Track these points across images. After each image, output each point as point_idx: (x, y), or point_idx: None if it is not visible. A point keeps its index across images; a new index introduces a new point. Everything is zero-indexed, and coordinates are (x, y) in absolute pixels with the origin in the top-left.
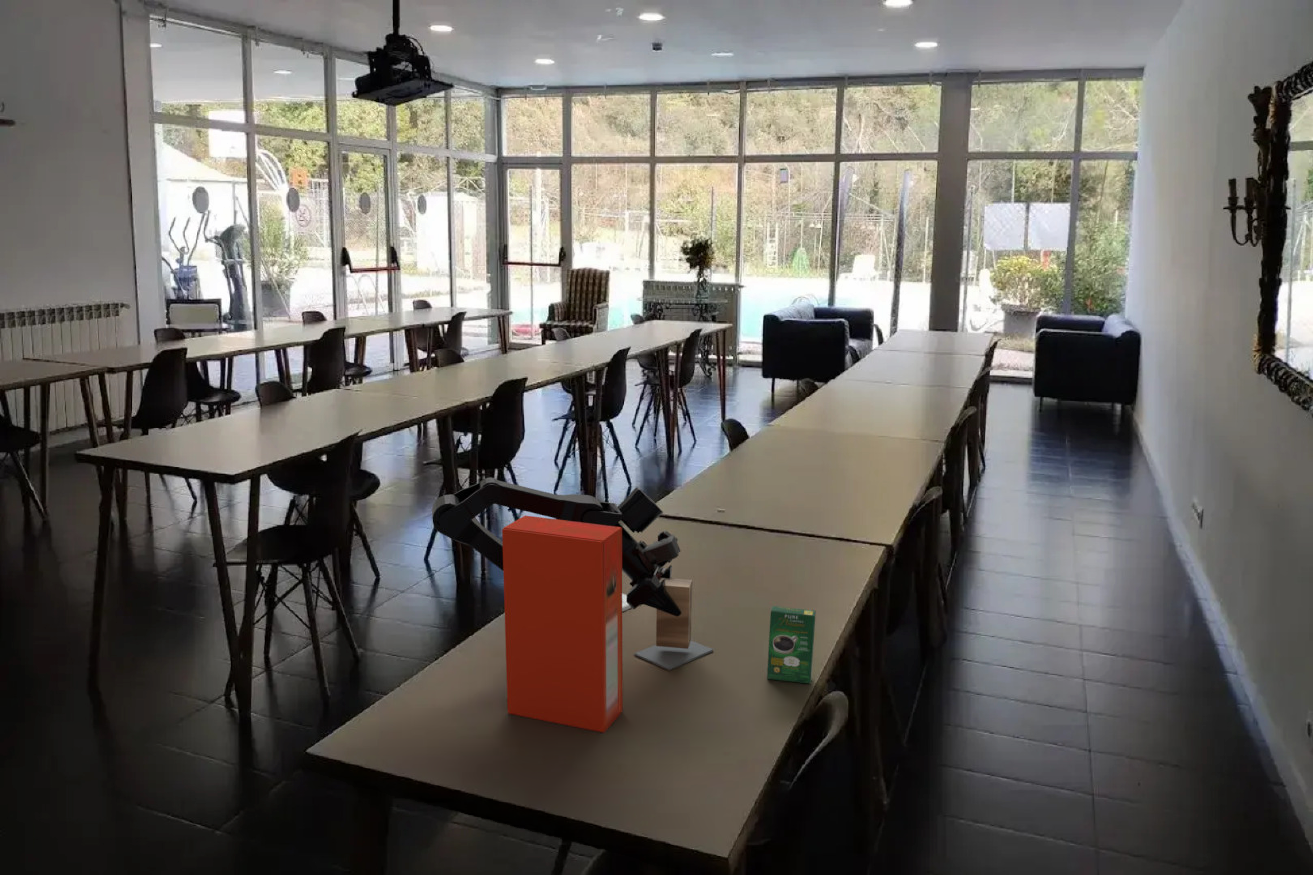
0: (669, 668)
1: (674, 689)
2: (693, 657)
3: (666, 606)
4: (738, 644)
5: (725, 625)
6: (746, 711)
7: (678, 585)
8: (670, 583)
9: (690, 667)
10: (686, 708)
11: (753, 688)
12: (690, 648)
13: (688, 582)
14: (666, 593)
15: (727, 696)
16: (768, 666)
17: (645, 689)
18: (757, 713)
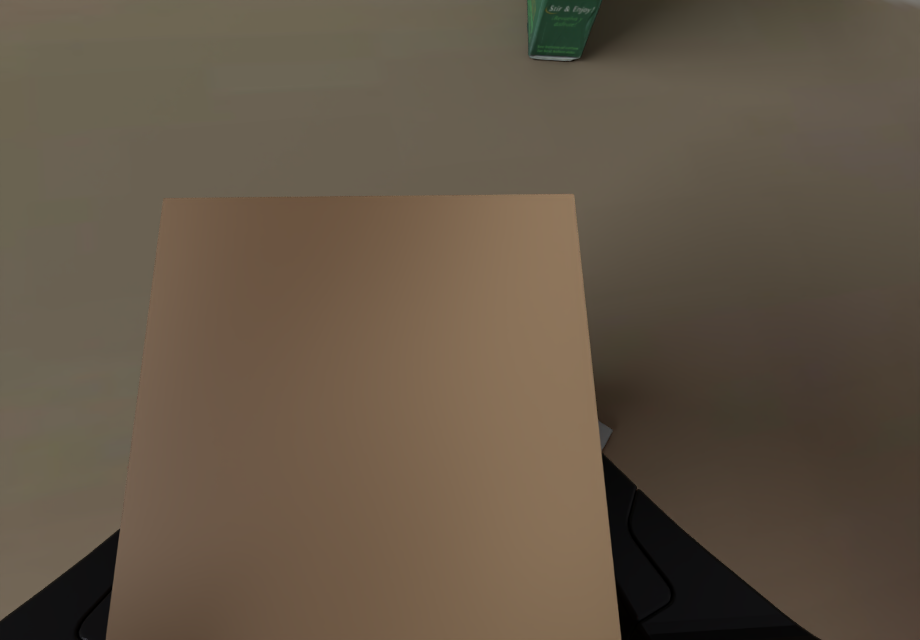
0: (608, 427)
1: (769, 370)
2: None
3: None
4: (273, 181)
5: (52, 258)
6: (828, 107)
7: (537, 405)
8: (458, 615)
9: None
10: (896, 297)
11: (658, 99)
12: None
13: (313, 245)
14: (690, 592)
15: (749, 173)
16: (596, 12)
17: (816, 492)
18: (827, 76)
